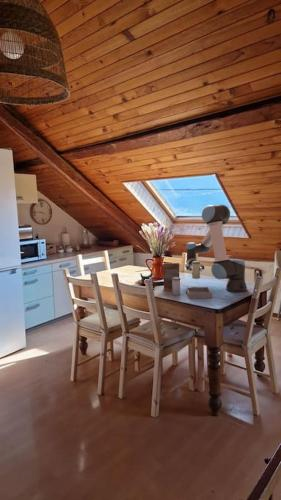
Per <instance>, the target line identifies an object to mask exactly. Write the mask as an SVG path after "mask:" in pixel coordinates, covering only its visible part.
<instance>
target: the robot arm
mask: <svg viewBox="0 0 281 500" xmlns="http://www.w3.org/2000/svg"><path fill="white" fill-rule="evenodd" d="M230 217H231V210H230V208H229V207H228V206H227V205H225V204H210V205H206V206H204V207H203V209H202V212H201V218H202V221H203V222H204V223H205V222H206V226H207V227H208V228H209V229H208V230H207V233H206V234H205V236H204V237H203V239H202V241H201V242H200V243H198V244H197V243H196V242H193V241H192V242H191V241H190V242H187V243H186V247H185V248H186V249H185V250H186V259H185V260H186V261H185V262H186V263H185V265H184V267H185V268H186V270H188V271H189V272H191V273H192V272H193V267H192V262H193V261H197V255H198V254H204V253H208V252H210V251H211V248H212V250H213V254H214V260H213V265H211V269H210V270H211V274H212V276H213V278H215V279H217V280H226V279H228V280H227V283H226V285H225V286H226V287H225V288H226V289H225V290H226V291H228V292H233V293H244V292H247V291H248V285H247V282H246V279H245V278H246V276H245V275H246V274H245V273H246V272H245V271H246V262H245V260H244V259H238V258H229V257H228V256H227V250H226V245H225V239H224V233H223V227H224V225H226V224H227V223H228V222H229V220H230ZM211 245H212V246H211ZM203 270H205V265H204V264H203V263H200V273H201V272H202V271H203Z"/></svg>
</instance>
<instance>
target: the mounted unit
mask: <svg viewBox="0 0 281 500" xmlns="http://www.w3.org/2000/svg"><path fill="white" fill-rule="evenodd" d="M162 266H163V267H162V269H163V272H162V273H163V291H164V292H168V291H169V292H170V291H171V292H172V278H174V277H178V278H180V263H179V262H169V263H168V262H166V263H165V262H164V263H163V265H162Z"/></svg>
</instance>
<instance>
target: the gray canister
mask: <svg viewBox="0 0 281 500" xmlns="http://www.w3.org/2000/svg"><path fill="white" fill-rule="evenodd" d="M171 292H172V293H171V294H172V296H180V295H181V277H179V278H178V277H174V278H172V291H171Z"/></svg>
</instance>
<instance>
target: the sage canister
mask: <svg viewBox="0 0 281 500" xmlns="http://www.w3.org/2000/svg"><path fill="white" fill-rule="evenodd" d="M200 264H201V261H199V260H196V261H193V262H192V267H193V272H192V271H191V273H192V275H191V276H192V277H191V278H192V279H195V280H198V279H201V271H200Z"/></svg>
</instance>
